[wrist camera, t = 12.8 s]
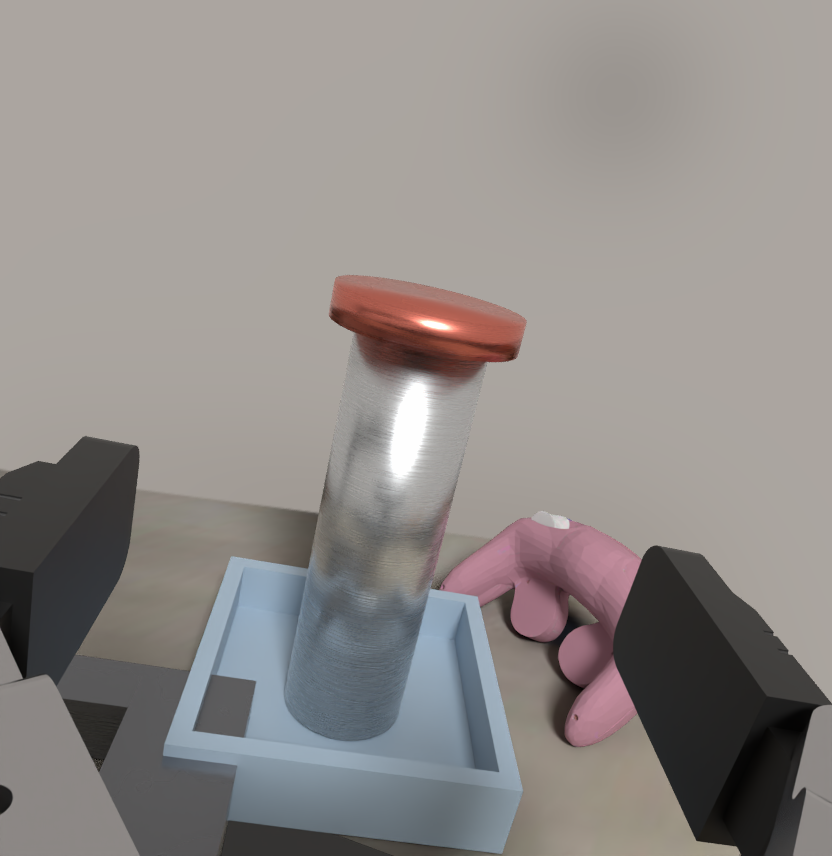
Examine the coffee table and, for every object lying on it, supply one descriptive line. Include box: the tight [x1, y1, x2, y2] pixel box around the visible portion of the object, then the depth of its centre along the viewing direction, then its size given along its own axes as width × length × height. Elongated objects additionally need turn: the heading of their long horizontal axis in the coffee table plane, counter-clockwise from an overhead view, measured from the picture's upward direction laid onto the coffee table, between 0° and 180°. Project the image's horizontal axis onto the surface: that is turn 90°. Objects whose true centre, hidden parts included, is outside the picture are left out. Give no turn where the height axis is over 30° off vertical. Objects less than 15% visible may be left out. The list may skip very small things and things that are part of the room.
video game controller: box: [439, 511, 642, 747], centre depth 31 cm, size 10×5×7 cm, turn 33°
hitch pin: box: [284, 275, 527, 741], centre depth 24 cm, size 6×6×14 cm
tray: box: [163, 556, 523, 854], centre depth 26 cm, size 10×10×2 cm
